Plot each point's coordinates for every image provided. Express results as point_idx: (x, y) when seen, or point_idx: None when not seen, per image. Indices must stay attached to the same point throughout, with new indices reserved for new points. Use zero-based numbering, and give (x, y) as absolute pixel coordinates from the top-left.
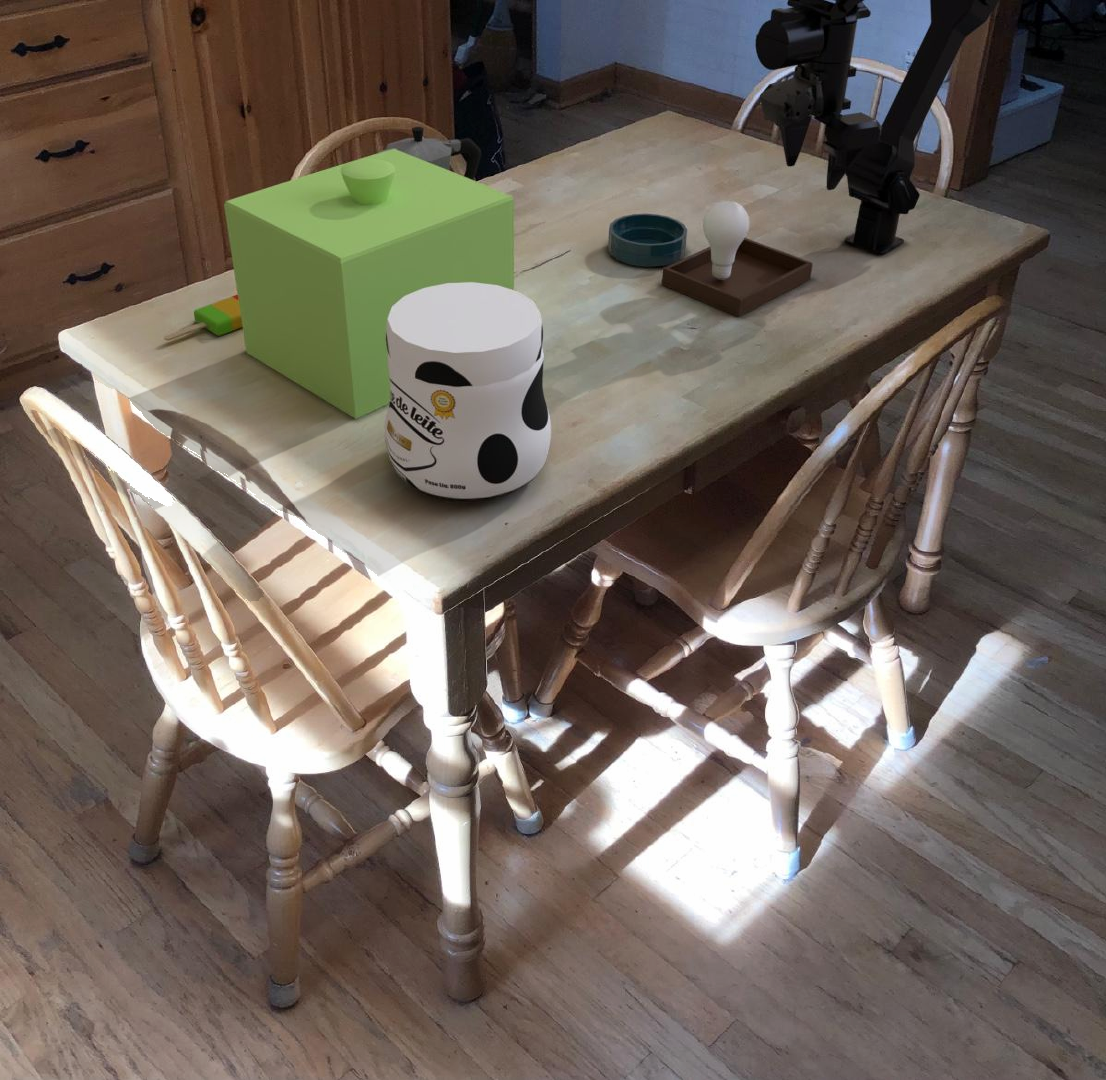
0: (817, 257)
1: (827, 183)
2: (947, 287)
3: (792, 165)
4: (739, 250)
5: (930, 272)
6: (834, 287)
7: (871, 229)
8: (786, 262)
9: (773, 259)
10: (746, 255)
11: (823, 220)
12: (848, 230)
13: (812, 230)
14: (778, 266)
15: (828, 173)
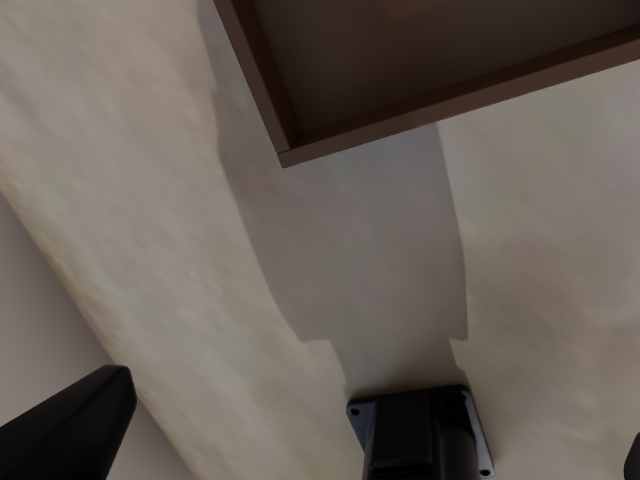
0: (426, 268)
1: (83, 389)
2: (149, 401)
3: (630, 459)
4: (620, 30)
5: (227, 423)
6: (226, 181)
7: (371, 443)
8: (379, 115)
9: (439, 92)
10: (565, 35)
11: (630, 436)
12: (527, 440)
13: (596, 373)
14: (411, 97)
15: (8, 448)
